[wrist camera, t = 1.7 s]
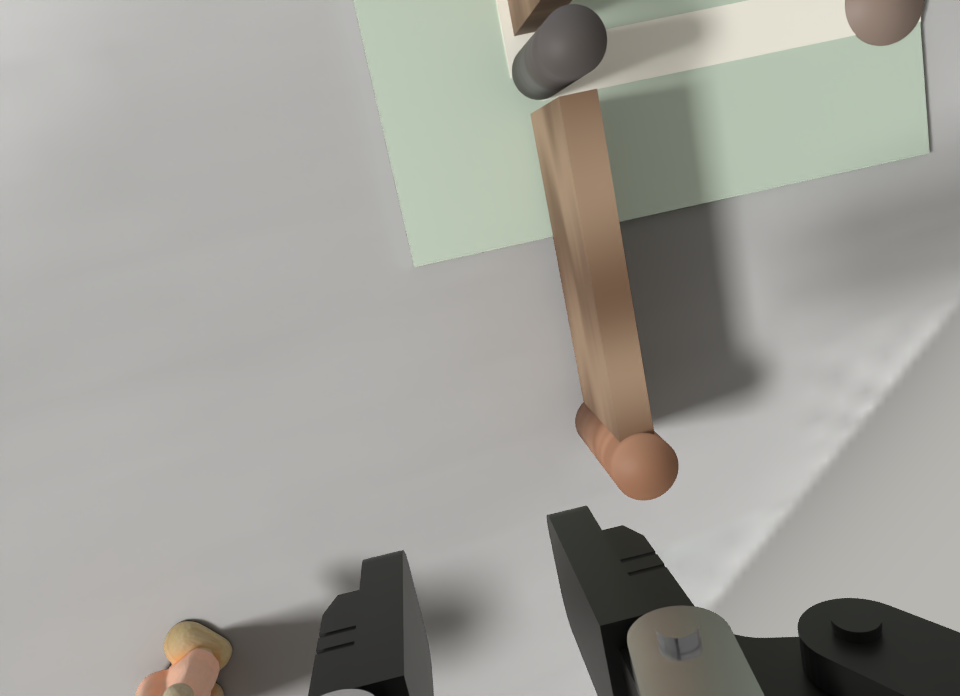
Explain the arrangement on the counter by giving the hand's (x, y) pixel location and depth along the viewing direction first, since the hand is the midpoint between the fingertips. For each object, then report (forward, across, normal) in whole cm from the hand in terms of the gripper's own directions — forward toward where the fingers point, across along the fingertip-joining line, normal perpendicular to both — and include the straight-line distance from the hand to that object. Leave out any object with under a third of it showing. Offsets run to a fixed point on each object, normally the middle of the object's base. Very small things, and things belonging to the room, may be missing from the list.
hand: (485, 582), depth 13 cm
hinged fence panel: (+16, -6, -3) cm, 18 cm away
